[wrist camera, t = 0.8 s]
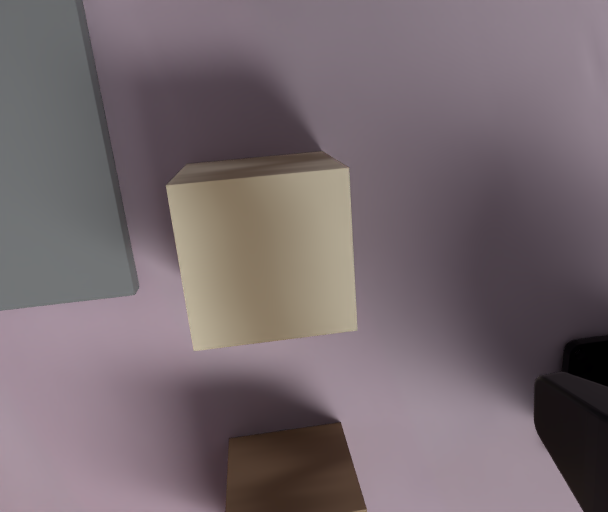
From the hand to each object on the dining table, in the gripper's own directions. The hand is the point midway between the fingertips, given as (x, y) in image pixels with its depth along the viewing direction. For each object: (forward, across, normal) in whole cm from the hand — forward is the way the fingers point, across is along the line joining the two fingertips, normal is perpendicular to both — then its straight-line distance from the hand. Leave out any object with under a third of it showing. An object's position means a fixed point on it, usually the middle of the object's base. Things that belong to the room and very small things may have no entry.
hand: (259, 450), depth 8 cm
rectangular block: (+12, 0, +11) cm, 17 cm away
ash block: (+12, 0, -1) cm, 12 cm away
